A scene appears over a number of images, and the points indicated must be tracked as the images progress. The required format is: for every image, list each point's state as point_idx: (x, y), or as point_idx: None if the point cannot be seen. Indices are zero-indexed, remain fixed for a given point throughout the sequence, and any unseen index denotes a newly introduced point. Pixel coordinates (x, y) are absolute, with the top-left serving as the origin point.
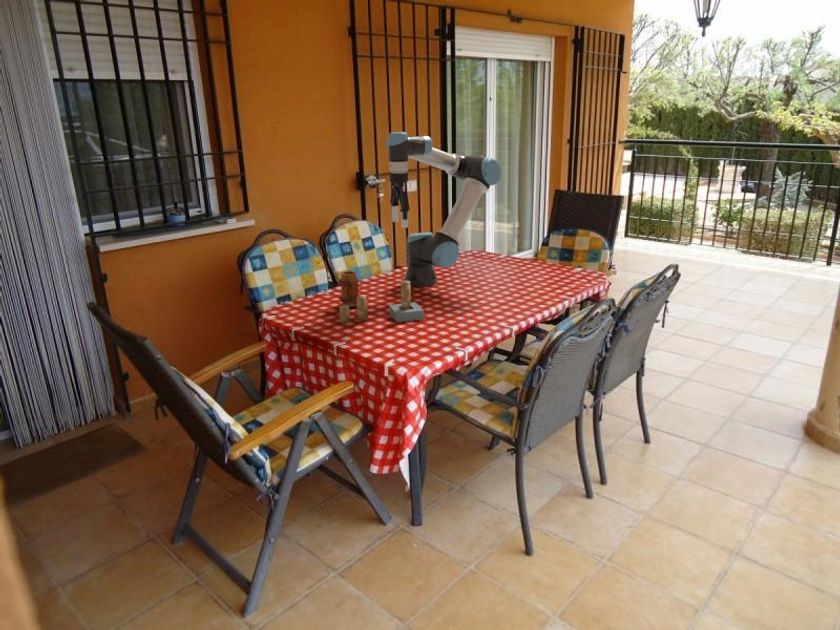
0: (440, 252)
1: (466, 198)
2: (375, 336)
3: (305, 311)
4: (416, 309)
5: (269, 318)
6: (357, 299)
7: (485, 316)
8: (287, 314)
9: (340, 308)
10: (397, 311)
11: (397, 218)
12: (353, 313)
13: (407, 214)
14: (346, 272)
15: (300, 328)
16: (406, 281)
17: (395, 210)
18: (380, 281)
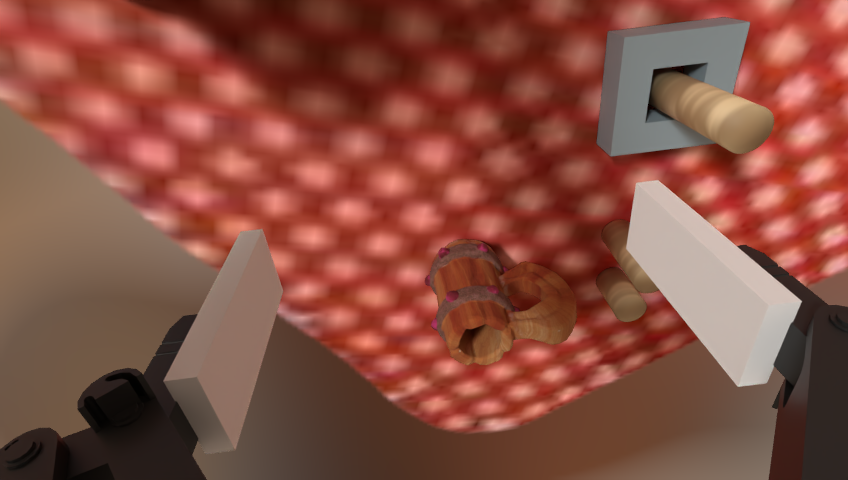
0: None
1: None
2: (778, 210)
3: (476, 366)
4: (722, 53)
5: (504, 427)
6: (653, 288)
7: None
8: (487, 399)
9: (635, 318)
10: (702, 135)
11: (259, 265)
12: (544, 254)
13: (762, 273)
14: (457, 346)
15: (609, 371)
16: (743, 124)
17: (237, 361)
18: (123, 120)
